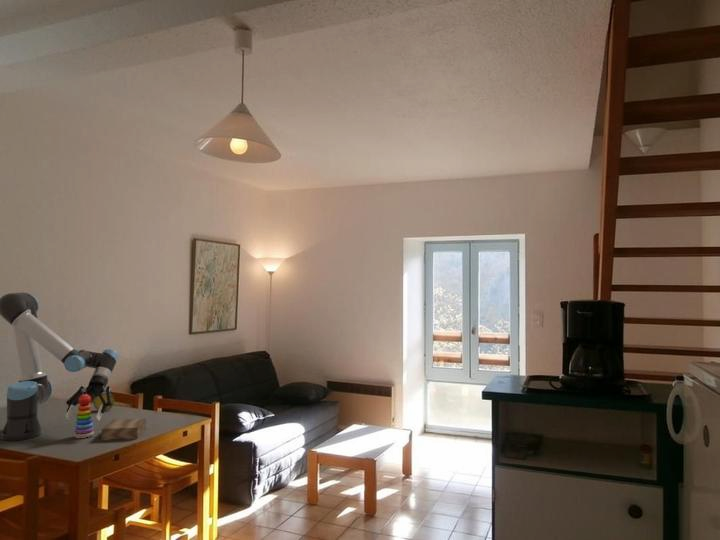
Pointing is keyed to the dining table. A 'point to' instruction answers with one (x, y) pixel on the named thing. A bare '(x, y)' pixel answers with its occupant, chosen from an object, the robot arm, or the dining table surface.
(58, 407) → the dining table surface
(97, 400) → the decorative artifact
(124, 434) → the walnut block
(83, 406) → the stacking toy
